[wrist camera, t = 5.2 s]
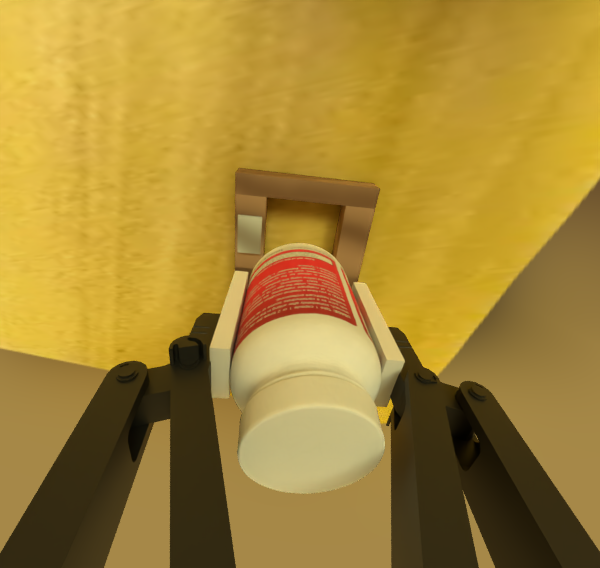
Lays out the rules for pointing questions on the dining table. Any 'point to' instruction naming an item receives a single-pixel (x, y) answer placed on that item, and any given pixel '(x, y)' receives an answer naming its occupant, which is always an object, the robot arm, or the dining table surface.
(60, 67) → the dining table surface
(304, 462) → the pill bottle
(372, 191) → the socket board
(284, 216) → the dining table surface
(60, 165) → the dining table surface
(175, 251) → the dining table surface
